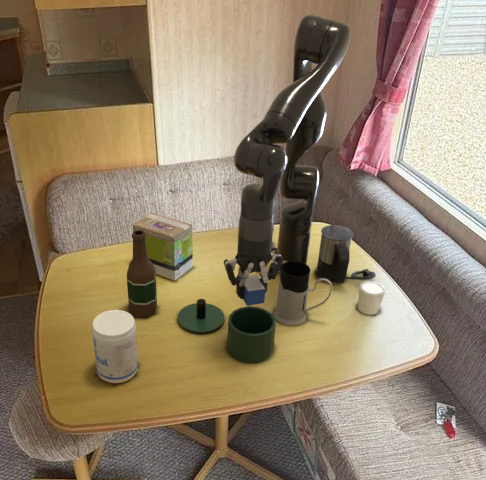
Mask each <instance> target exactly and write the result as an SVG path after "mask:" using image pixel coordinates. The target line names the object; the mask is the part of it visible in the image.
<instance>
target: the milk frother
mask: <svg viewBox="0 0 486 480" xmlns="http://www.w3.org/2000/svg"><path fill="white" fill-rule="evenodd" d="M320 233H321V237H320V244H319V251H318V259H317V266H316V269H315V273H314V274H315V276H316V278H317V279H318V280H319V279H321V278H324V279H327V280H329V281H330V282H331V284H344V283H345V282H346V280H353V281H355V280H356V281H369V280H371V279H374V278H376V274H377V273H376V272H374V271H372V270H369V269H368V268H364V269H362V270H357V271H354V272H352V273H351V275H350V276H347V275H348V274H347V273H348V270H349V266H350V265H349V264H350V252H351V251H350V250H351V244H352V239H353V237H354V231H353V230H351V229H350V228H349V227H346V226H343V225H339V224H330V225H325V226H323V227H322V228H321V229H320ZM361 274H362V276H358V275H361ZM321 281H322V282H325V283H327V282H326V281H324V280H321Z"/></svg>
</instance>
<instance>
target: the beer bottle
mask: <svg viewBox="0 0 486 480" xmlns="http://www.w3.org/2000/svg"><path fill="white" fill-rule="evenodd" d="M131 238H132V258H131V260H130V262H129V265H128V268H127V271H126V286H127V287H126V288H127V301H128V310H129V313H130V314H131V315H132V316H133V317H135V318H142V319H143V318H145V319H148V318H149V317H151V316H154V315H155V314H156V312H157V307H158V294H157V274H156V272H155V267H154V265H153V263H152V262H151V261H150V260H149V258H148V254H147V247H146V239H145V238H146V233H145V232H144V231H143V230H136V231H134V232H133V231H132V233H131Z"/></svg>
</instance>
